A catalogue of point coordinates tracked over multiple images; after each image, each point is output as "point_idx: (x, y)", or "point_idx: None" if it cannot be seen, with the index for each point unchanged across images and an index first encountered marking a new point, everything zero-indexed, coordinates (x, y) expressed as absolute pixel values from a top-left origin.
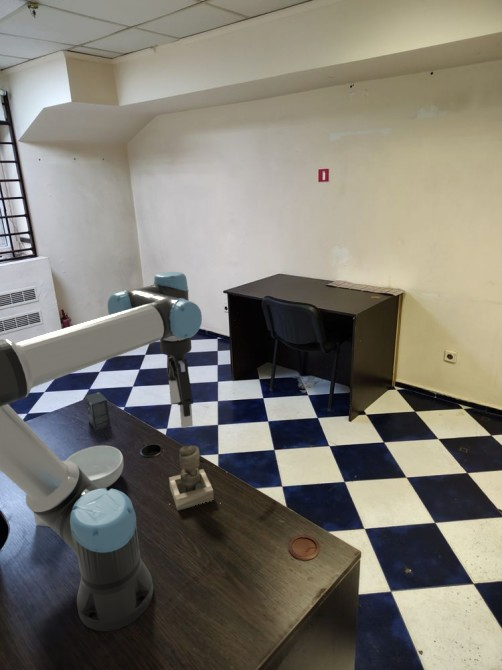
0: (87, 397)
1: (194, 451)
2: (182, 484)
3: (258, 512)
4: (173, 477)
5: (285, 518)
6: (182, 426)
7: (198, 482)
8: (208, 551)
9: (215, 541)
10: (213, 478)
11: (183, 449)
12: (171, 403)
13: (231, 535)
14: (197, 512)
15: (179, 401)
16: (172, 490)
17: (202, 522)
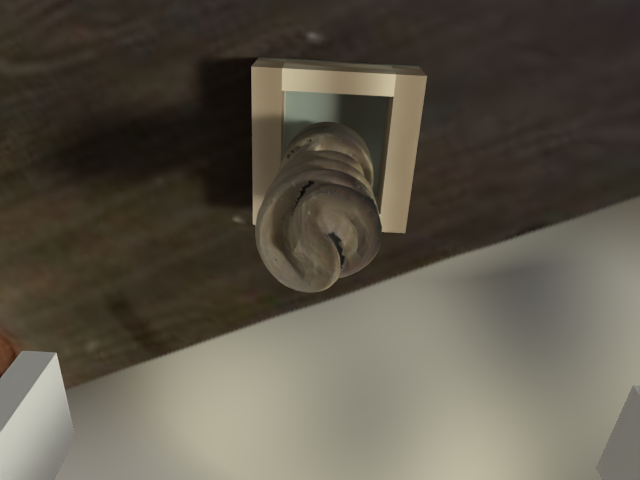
0: None
1: (294, 263)
2: (386, 122)
3: (148, 306)
4: (415, 96)
5: (99, 358)
6: (14, 368)
7: (378, 186)
8: (10, 103)
9: (52, 141)
10: (384, 243)
11: (339, 215)
12: (635, 391)
13: (67, 198)
14: (218, 128)
15: (605, 466)
16: (348, 68)
17: (158, 129)
